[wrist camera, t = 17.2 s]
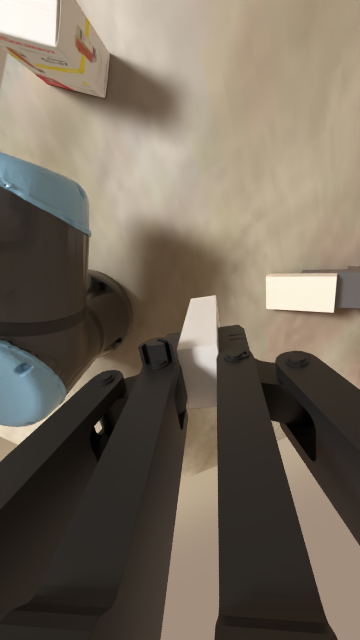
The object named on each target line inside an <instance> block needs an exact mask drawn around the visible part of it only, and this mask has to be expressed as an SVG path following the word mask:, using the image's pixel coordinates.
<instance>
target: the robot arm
mask: <svg viewBox="0 0 360 640" xmlns="http://www.w3.org/2000/svg"><path fill="white" fill-rule="evenodd" d="M89 236H90V237H91V231H90V230H89V200H88V197H87V194H86V192H85V191H84V189H83V188H82V187H81V186H80V185H79V184H78V183H76V182H75V181H73V180H71V179H69V178H67V177H65V176H63V175H61V174H58V173H56V172H53V171H51V170H48V169H46V168H43V167H41V166H38V165H36V164H33V163H30V162H27V161H25V160H22V159H19V158H16V157H13V156H10V155H7V154H5V153H2V152H0V425H4V426H11V427H21V426H28V425H32V424H35V423H36V422H39V421H41V420H43V419H44V418H46V417H47V416H48V415H49V414H50V413H51V412H52V411H53V410H54V409H55V408H56V407H57V406H58V405H60V404H61V403H62V402H63V401H64V400H65V397H66V395H67V394H68V393H69V391H70V390H71V389H72V388H73V386H74V385H75V384H76V383H77V381H78V380H79V379H80V378H81V377H82V375H83V374H84V373H85V372H86V370H87V369H88V368H89V367H90V365H91V364H92V363H93V362H94V361H95V359H96V358H98V357H101V356H103V355H105V354H108V353H110V352H112V351H114V350H115V349H116V348H118V347H119V346H120V345H121V344H122V342H123V341H124V340H125V338H126V337H127V335H128V334H129V332H130V329H131V326H132V321H133V313H132V307H131V304H130V301H129V299H128V297H127V295H126V293H125V292H124V290H123V289H122V288H121V287H120V285H119V284H118V283H116V282H115V281H114V280H113V279H112V278H110V277H108V276H107V275H105V274H103V273H100V272H97V271H94V270H88V255H89ZM138 348H139V352H140V356H141V360H142V363H143V368H142V370H141V372H140V374H139V375H136V376H133V377H129V378H126V379H124V377H123V374H122V373H121V372H120V371H117V370H111V371H110V370H109V371H106V372H105V371H104V372H102V373H100V374H98V375H96V376H95V377H93V378H92V379H91V380H90V381H89V382H87V383H86V384H85V385H84V386H83V387H82V388H81V389H80V390H79V391H78V392H76V393H75V394H74V395H73V396H72V397H71V398H70V399H69V400H68V401H67V402H65V403H64V404H63V405H62V406H61V407H60V408H59V409H58V410H57V411H56V412H54V413H53V414H52V415H51V416H50V417H49V418H48V419H47V420H46V421H45V422H43V423H42V424H41V425H40V426H39V427H38V428H37V429H36V430H35V431H34V432H32V433H31V434H30V435H29V436H28V437H27V438H26V439H25V440H24V441H23V442H21V443H20V444H19V445H18V446H17V447H16V448H15V449H14V450H13V451H12V452H10V453H9V454H8V455H7V456H6V457H5V458H4V459H3V460H2V461H1V462H0V640H160V638H161V630H162V621H163V614H164V605H165V598H166V590H167V582H168V574H169V566H170V558H171V550H172V542H173V533H174V526H175V518H176V510H177V502H178V493H179V486H180V478H181V470H182V462H183V454H184V446H185V438H186V429H187V421H188V415H187V410H186V402H188V406H189V409H195V408H209V407H217V447H218V527H219V616H218V619H217V622H216V628H215V640H337V637H336V635H335V633H334V632H333V630H332V628H331V627H330V625H329V624H328V621H327V619H326V616H325V613H324V610H323V606H322V603H321V600H320V596H319V593H318V589H317V585H316V582H315V578H314V575H313V571H312V567H311V564H310V560H309V556H308V553H307V549H306V545H305V542H304V538H303V535H302V531H301V527H300V524H299V520H298V516H297V513H296V509H295V506H294V502H293V498H292V495H291V491H290V487H289V484H288V480H287V477H286V473H285V470H284V466H283V462H282V459H281V455H280V451H279V448H278V444H277V440H276V437H275V433H274V429H273V426H272V422H271V421H276V422H279V423H280V426H281V428H282V430H283V431H284V433H285V434H286V436H287V437H288V439H289V440H290V442H291V443H292V445H293V446H294V448H295V449H296V451H297V452H298V454H299V455H300V457H301V458H302V460H303V461H304V463H305V464H306V466H307V467H308V469H309V470H310V472H311V473H312V475H313V476H314V478H315V479H316V481H317V482H318V484H319V485H320V487H321V488H322V490H323V491H324V493H325V494H326V496H327V497H328V499H329V500H330V502H331V503H332V505H333V506H334V508H335V509H336V511H337V512H338V514H339V515H340V517H341V518H342V520H343V521H344V523H345V524H346V526H347V527H348V529H349V530H350V532H351V533H352V535H353V536H354V538H355V539H356V541H357V542H358V543H359V545H360V390H359V389H358V388H357V387H355V386H354V385H353V384H351V383H350V382H349V381H348V380H346V379H345V378H344V377H342V376H341V375H340V374H338V373H337V372H336V371H334V370H333V369H332V368H330V367H329V366H328V365H326V364H325V363H324V362H323V361H321V360H320V359H319V358H317V357H316V356H314V355H312V354H310V353H306V352H303V351H291V352H285V353H283V354H280V355H279V356H278V357H277V358H276V361H275V362H276V363H270V362H263V361H260V360H257V359H255V358H254V357H253V354H252V353H251V352H250V350H249V346H248V343H247V339H246V335H245V331H244V328H242V327H241V326H239V325H233V326H225V327H220V322H219V315H218V308H217V301H216V295H213V296H206V297H199V298H192V299H191V300H190V304H189V307H188V311H187V314H186V318H185V322H184V325H183V329H182V332H181V333H174V334H168V335H167V336H166V337H165V338H155V339H151V340H148V341H146V342H144V343H142V344H141V345H140V346H139V347H138ZM99 420H100V423H101V425H102V430H101V431H100V432H99V433H96V430H95V428H94V426H95V425H96V423H97V422H98V421H99Z"/></svg>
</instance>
